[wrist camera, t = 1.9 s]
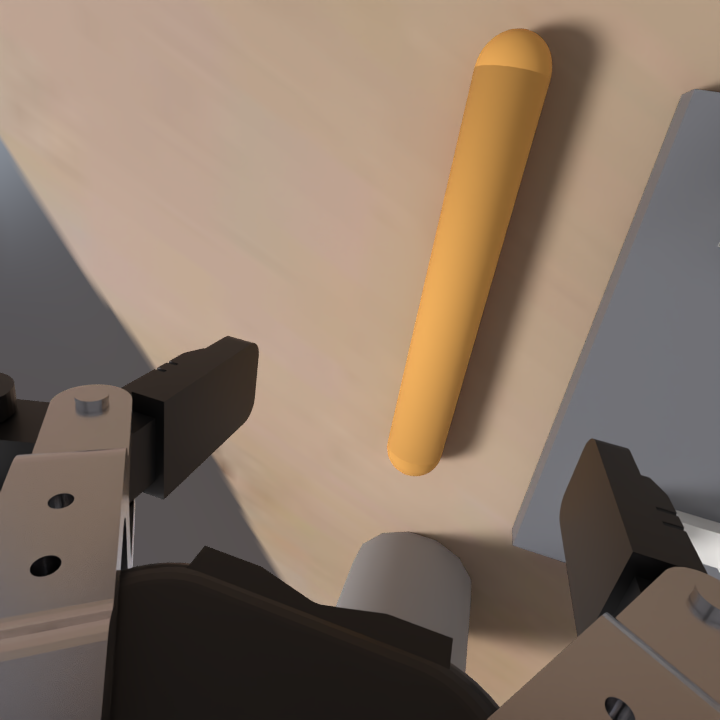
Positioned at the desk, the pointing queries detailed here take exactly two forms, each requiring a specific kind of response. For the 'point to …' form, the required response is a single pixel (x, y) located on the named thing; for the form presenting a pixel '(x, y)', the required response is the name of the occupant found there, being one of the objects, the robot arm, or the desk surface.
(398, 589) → the cup
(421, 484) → the desk surface
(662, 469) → the board
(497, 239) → the orange rod
